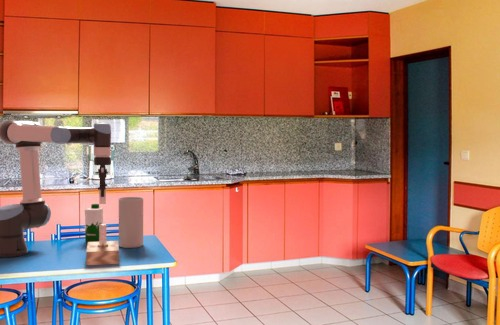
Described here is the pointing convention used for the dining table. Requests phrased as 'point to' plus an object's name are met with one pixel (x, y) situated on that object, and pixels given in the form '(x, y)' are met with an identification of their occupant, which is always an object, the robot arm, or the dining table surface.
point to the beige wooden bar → (102, 235)
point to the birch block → (102, 253)
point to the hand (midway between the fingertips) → (102, 202)
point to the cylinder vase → (130, 222)
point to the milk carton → (93, 222)
